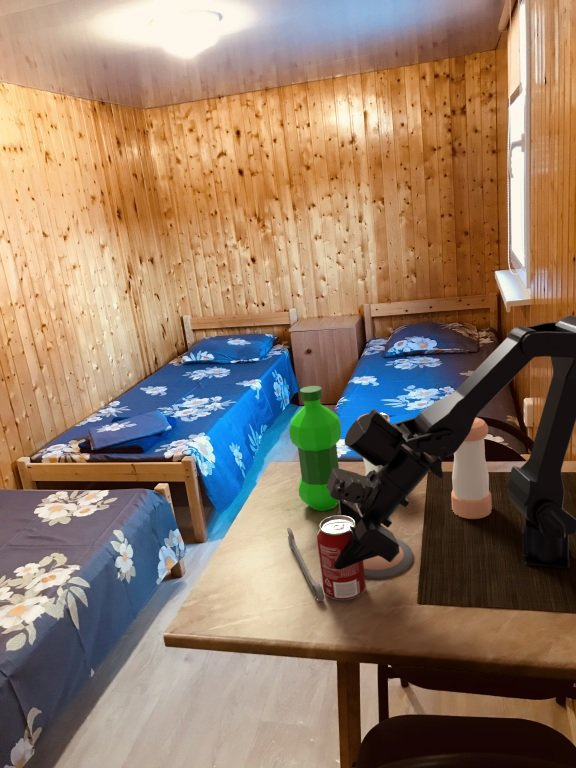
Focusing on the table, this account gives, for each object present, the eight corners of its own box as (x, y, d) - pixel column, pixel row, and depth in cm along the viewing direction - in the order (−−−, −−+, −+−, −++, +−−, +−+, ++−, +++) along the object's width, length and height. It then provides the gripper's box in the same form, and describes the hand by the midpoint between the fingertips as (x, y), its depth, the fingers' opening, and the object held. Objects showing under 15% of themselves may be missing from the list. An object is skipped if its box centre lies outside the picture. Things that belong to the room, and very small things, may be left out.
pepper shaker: (453, 519, 115) (448, 423, 110) (450, 500, 122) (445, 409, 117) (494, 518, 114) (491, 421, 108) (489, 499, 121) (486, 407, 115)
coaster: (418, 542, 109) (417, 538, 109) (405, 582, 99) (405, 578, 99) (352, 536, 114) (352, 533, 114) (333, 574, 103) (333, 570, 103)
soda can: (364, 604, 95) (357, 535, 91) (320, 603, 96) (312, 535, 93) (367, 578, 101) (361, 512, 98) (326, 577, 103) (319, 513, 99)
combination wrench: (323, 586, 95) (291, 523, 114) (315, 588, 95) (285, 525, 114) (325, 606, 97) (294, 541, 115) (317, 608, 96) (287, 542, 115)
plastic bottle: (308, 491, 133) (294, 381, 126) (355, 494, 129) (344, 381, 122) (291, 514, 125) (275, 397, 117) (341, 518, 121) (328, 397, 113)
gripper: (343, 430, 101) (285, 501, 104) (370, 478, 83) (299, 563, 86) (394, 467, 104) (336, 535, 106) (430, 520, 86) (359, 601, 89)
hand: (331, 555), depth 97 cm, fingers closed on soda can, 6 cm apart
